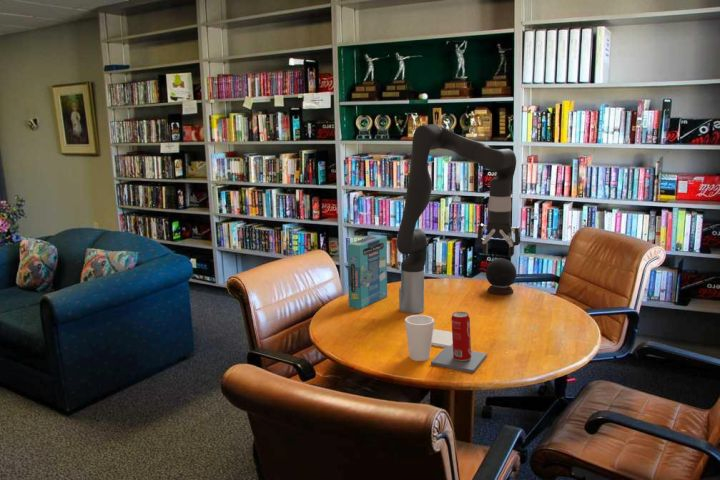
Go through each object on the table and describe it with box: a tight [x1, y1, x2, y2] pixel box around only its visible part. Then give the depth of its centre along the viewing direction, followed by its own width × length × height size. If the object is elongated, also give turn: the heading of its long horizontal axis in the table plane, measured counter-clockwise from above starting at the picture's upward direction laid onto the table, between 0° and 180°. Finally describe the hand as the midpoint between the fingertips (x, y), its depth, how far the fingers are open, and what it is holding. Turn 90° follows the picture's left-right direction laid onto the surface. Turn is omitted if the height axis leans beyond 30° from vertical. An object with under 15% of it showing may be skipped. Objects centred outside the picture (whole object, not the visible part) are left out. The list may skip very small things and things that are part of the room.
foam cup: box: [404, 314, 435, 362], centre depth 192 cm, size 10×9×13 cm
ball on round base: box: [485, 257, 517, 296], centre depth 259 cm, size 13×13×15 cm
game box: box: [347, 234, 388, 310], centre depth 247 cm, size 20×6×27 cm, turn 144°
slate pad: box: [430, 346, 488, 374], centre depth 190 cm, size 14×14×1 cm
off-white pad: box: [431, 328, 453, 348], centre depth 208 cm, size 12×12×1 cm
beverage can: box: [450, 311, 472, 361], centre depth 188 cm, size 6×6×15 cm
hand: (498, 255), depth 202 cm, fingers open, 8 cm apart
